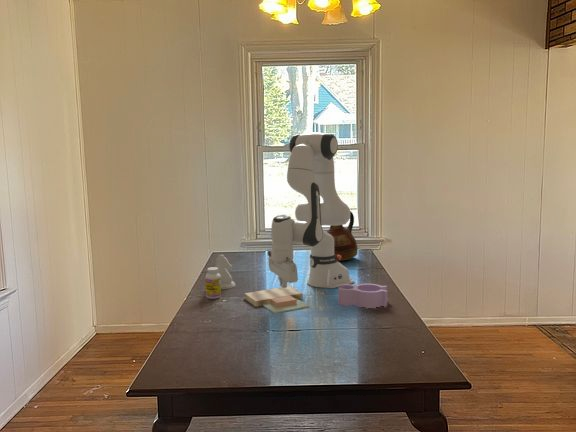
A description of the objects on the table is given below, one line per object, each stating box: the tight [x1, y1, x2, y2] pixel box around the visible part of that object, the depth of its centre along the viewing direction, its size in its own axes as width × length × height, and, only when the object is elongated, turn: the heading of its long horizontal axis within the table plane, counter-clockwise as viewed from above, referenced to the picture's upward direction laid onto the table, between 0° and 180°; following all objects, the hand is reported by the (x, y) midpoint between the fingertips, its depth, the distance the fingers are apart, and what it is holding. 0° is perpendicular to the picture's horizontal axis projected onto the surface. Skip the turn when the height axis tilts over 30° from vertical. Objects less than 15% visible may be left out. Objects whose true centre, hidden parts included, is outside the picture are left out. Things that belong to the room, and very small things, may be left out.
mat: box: [262, 298, 310, 314], centre depth 209 cm, size 16×11×1 cm
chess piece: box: [215, 254, 236, 290], centre depth 237 cm, size 10×10×15 cm
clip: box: [337, 283, 388, 309], centre depth 211 cm, size 20×12×7 cm, turn 81°
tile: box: [271, 296, 297, 308], centre depth 210 cm, size 9×6×2 cm, turn 116°
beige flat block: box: [244, 285, 304, 308], centre depth 219 cm, size 22×12×2 cm, turn 117°
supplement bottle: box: [205, 266, 222, 300], centre depth 221 cm, size 7×7×13 cm
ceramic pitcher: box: [326, 210, 358, 262], centre depth 283 cm, size 20×20×30 cm
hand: (283, 287), depth 211 cm, fingers closed
